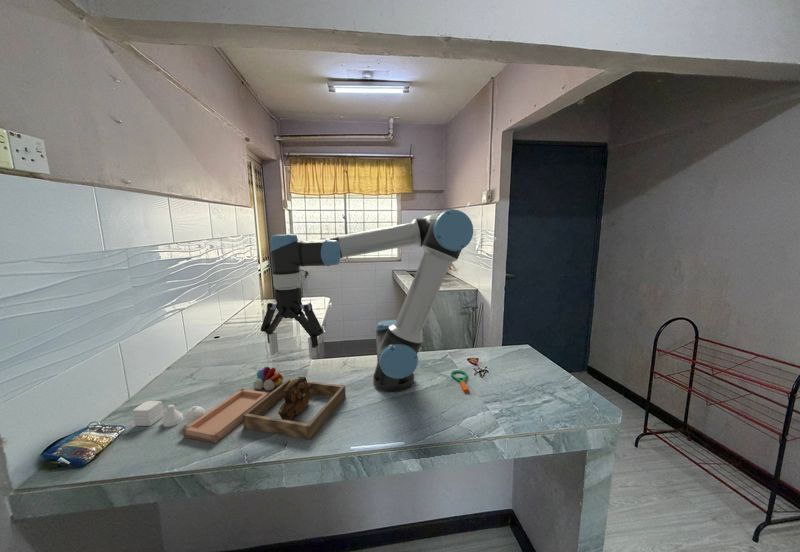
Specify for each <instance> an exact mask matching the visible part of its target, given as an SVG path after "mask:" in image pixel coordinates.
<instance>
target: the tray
mask: <svg viewBox="0 0 800 552" xmlns="http://www.w3.org/2000/svg"><path fill="white" fill-rule="evenodd" d="M269 394H270V392H266V391H259V390H258V391H257V390H254V389H247V388H246V389H244V388H241V389H240V390H238V391H236V392H235V393H234V394H232V395H231V396H229V397H228V398H226V399H224V400H223V401H221V402H220V403H219V404H217V405H216V406H214V407H213V408H211V409H210V410H208V411H207V412H205V414H204V415H203V416H201V417H200V418H198V419H197V420H195V421H194V422H192V423H191V424H189V425H188V426H186V425H185V426H184V428H182V433H183V438H186V439H192V440H196V441H197V440H198V441H200V442H201V441H202V442H206V443H210V444H217V443H218V442H220V440H221V439H223V438H224V437H225V436H227V435H228V434H229V433H231V432H232V431H233V430H234V429H236V427H238V426H239V425H241V423H243V418H242V415H243V414H244V413H245V412H247V411H248V410H249V409H251V408H252V407H253V406H254V405H256V404H257V403H258V402H260V401H261V400H262V399H263V398H265V397H266V396H267V395H269Z"/></svg>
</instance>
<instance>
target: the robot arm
mask: <svg viewBox="0 0 800 552" xmlns="http://www.w3.org/2000/svg"><path fill="white" fill-rule="evenodd" d="M473 236H474V225H473V223H472V221H471V218H470V217H469V215H467V213H465V212H463V211H461V210H458V209H454V208H448V209H445V210H439V211H436V212H434V213H432V214H429V215H426V216H424V217H417V218H413V220H412V221H411V222H408V223H403V224H397V225H391V226H387V227H380V228H375V229H374V228H373V229H369V230H364V231H358V232H353V233H348V234H342V235H337V236H331V237H322V238H320V239H316V240H299V239H298V236H297V234H293V233H291V234H290V233H289V234H273V235H271V237H270V239H269V241H270V242H269V243H270V247H269V248H270V249H269V252H270V257H271V259H270V260H271V268H272V281H273V287H274V288H275V289H274V290H273V291H274V300H275V301H274V300H273V301H271V302H268V303H266V312H265V315H264V319H263V321H262V323H261V326H260V332H264V333H265V334H266V337H267V343H268V344H269V351H270V352H269V353H270V355H271V356H273V355H275V354H277V353H278V352H279V344H278V343H279V342H278V333H277V331H276V329H277V327H278V326H279V325H280V323H281V321H282V320H283V319H290V320H295V321H297V322H298V323H299V324H300V325H301V327H302V328H303V329H304V330H305V332H306V333H307V334H308V336H309V337H307V340H308V342H307V343H308V356H309V360H313V359H314V358H315V357H317V356H318V355H317V347H318V346H319V339H318V337H320V336H321V335H323V333H324V330H323V327H322V325H321V323H320V322H319V320H318V318H317V316H316V314H315V312H314V310H313V305H312V303H310V302H308V303H305V304H304V303H303V302H302V299H303V293H302V287H301V286H300V285H301V284H302V283H301V281H302V280H301V269H300V267H321V266H322V267H330V266H338V265H340V263H341V259H344V258H350V257H354V256H355V257H356V256H362V255H365V254H371V253H377V252H382V251H387V250H388V251H390V250H393V249H399V248H404V247H409V246H417V247H418V248H419V247H422V250H423V252H424V253H423V256H422V258H421V260H420V263H419V265H418V267H417V269H416V272H415V274H414V277H413V278H412V282H411V283H410V284H411V285H410V286H409V289H408V291H407V294H406V296H405V298H404V301H403V303H402V306H401V309H400V311H399V313H398V315H397V318H396V319H390V320H389V319H388V320H387V319H386V320H381V321H379V322H378V323H376V325H375V332H376V358H377V359H376V360H377V362H376V366H375V370H374V373H373V375H372V376H373V379H372V382H373V386H374V387H375V388H376V389H378V390H380V392H381V391H383V392H386V393H399V392H403V391H407V390H409V389H410V388H412V387H413V386H414V384H415V374H414V372H415V371H416V369H417V367H418V363H419V356H418V353H419V351H420V348H421V346H422V343H423V342H424V341H423V340H424V339H423V337H422V335H421V333H422V331H423V329H424V327H425V325H426V322H427V319H428V317H429V315H430V312H431V309H432V308H433V306H434V303H435V301H436V299H437V296H438V293H439V291H440V289H441V287H442V285H443V283H444V279H445V277H446V275H447V272H448V270H449V268H450V265H451V264H452V263H454V262H456V261H458V260H459V257H460V254H461V253H462V250H463V249H464V248H466V247H467V246H468V245H469V244H470V242H471V241H472V239H473ZM276 310H277V313H276V314H275V312H276ZM274 315H275V316H274Z"/></svg>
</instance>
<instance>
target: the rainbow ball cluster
mask: <svg viewBox="0 0 800 552" xmlns="http://www.w3.org/2000/svg"><path fill="white" fill-rule="evenodd" d="M283 380H284V374H283V373H281V372H279V371H278V372H276V368H275V367H269V366H264V367H263V368H262V369H259V370H257V372H256V378H255V380H254V381H253V388H254V389H255V390H258V391H259V390H262V389H264V390H266V391H273V390H274V388H275V387H278V386H280V385H281V384H282V382H284V381H283Z"/></svg>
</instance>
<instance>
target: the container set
mask: <svg viewBox="0 0 800 552" xmlns="http://www.w3.org/2000/svg"><path fill="white" fill-rule="evenodd" d="M166 409H167V412H166V413H165V412H164V406H163V402H162V401H160V400H147V401H145V402H142V403H141V404H140V405H138V406H136V407H135V408H134V409H133V410H132V416H133V421H134V423H133V424H134V425H135V426H137V427H138V426H139V427H143V426H144V427H150V426H153V425H154V424H155V423H156V422H158V421H159V420H161V419H162V420H161V422H162V427H165V428H170V427H174V426H176V425H178V424H180V423H181V422H182V421H183V420H184V417H183V415H184V414H183V413H182V412H181V411H179V410H178V409H176V406H175V405H174V404H169V405H167V407H166ZM205 413H206V411H205V409H204V408H203V407H202V406H198V405H194V406H192V407H191V408H189V410H187V412H186V413H185V427H186V426H188V425H189V424H191V423H192V422H194V421H195V420H197V419H198V418H200V417H201V416H203V415H204V414H205Z"/></svg>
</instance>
